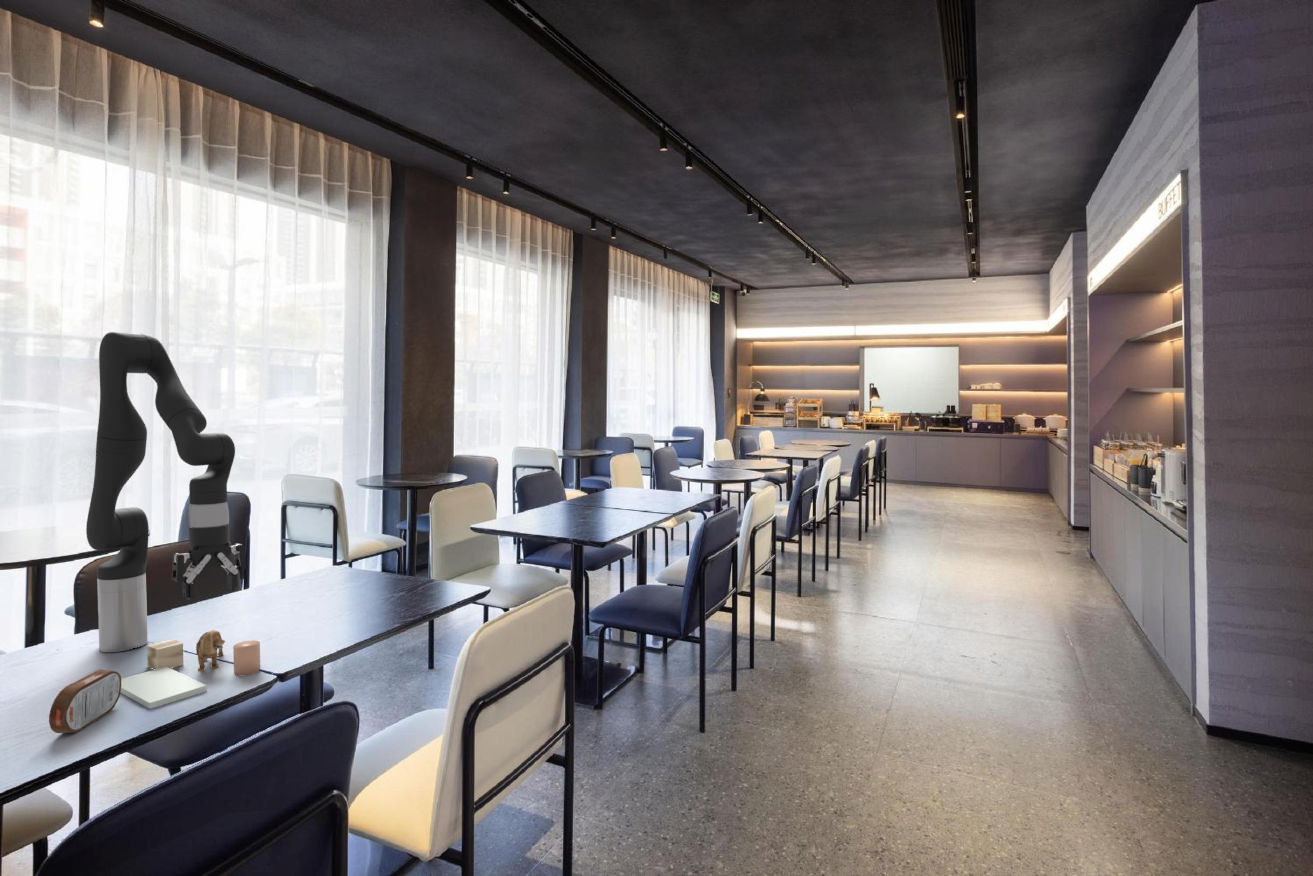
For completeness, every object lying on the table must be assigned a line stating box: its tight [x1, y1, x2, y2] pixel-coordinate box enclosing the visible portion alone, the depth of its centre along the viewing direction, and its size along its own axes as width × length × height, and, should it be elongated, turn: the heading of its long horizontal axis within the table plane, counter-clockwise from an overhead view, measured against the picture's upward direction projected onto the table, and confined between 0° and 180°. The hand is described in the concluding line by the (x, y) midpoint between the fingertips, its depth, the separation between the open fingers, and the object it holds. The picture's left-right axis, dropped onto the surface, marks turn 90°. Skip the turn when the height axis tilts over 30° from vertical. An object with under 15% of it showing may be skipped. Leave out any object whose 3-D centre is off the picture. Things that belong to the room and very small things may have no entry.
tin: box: [48, 668, 122, 734], centre depth 127 cm, size 15×3×8 cm, turn 5°
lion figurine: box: [195, 629, 226, 672], centre depth 155 cm, size 15×5×9 cm, turn 34°
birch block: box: [146, 638, 184, 670], centre depth 154 cm, size 5×5×5 cm
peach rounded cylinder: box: [232, 640, 261, 676], centre depth 151 cm, size 5×5×6 cm
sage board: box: [121, 667, 208, 710], centre depth 141 cm, size 18×10×1 cm, turn 57°
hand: (210, 594), depth 154 cm, fingers open, 8 cm apart
